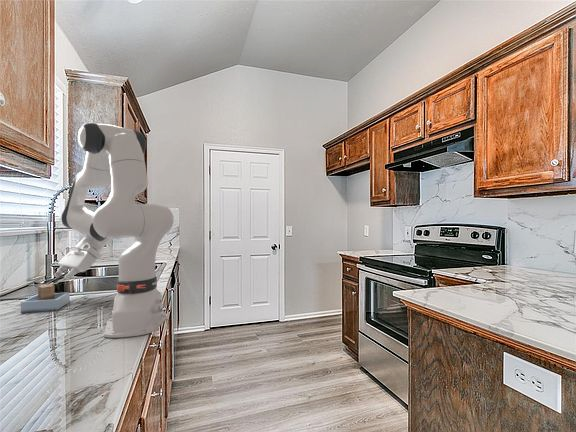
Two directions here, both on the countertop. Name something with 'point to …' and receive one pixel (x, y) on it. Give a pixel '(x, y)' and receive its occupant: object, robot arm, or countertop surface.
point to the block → (46, 292)
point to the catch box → (44, 303)
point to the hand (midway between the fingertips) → (60, 277)
